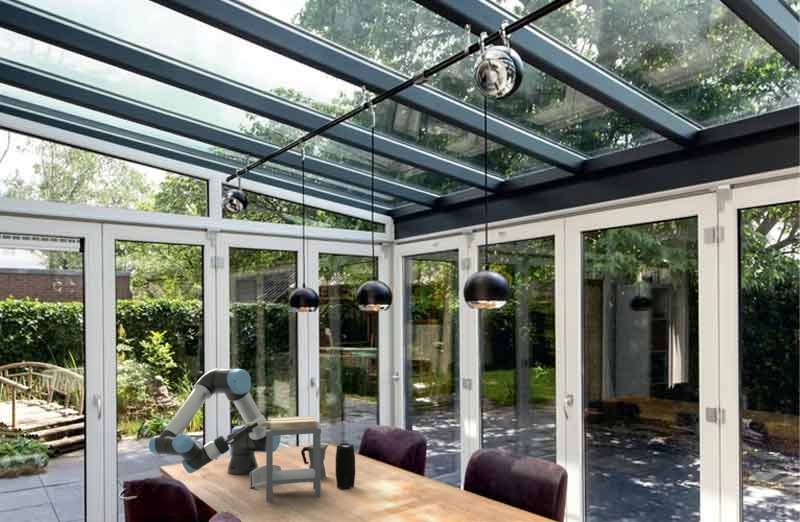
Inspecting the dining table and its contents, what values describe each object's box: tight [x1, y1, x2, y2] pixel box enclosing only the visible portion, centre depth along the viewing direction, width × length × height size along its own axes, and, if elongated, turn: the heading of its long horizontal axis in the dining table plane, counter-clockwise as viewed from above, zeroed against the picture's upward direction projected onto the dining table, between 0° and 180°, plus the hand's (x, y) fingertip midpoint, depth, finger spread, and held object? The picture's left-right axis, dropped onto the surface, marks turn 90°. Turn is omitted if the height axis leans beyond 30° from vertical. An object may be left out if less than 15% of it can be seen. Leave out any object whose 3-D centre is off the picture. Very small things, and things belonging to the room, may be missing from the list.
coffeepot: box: [300, 443, 329, 480], centre depth 305 cm, size 15×9×18 cm, turn 129°
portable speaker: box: [335, 442, 356, 491], centre depth 287 cm, size 9×9×20 cm
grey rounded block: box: [249, 464, 282, 490], centre depth 294 cm, size 17×5×10 cm, turn 132°
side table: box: [265, 421, 322, 503], centre depth 279 cm, size 18×24×30 cm
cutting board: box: [244, 415, 317, 431], centre depth 279 cm, size 16×31×3 cm, turn 101°
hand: (264, 418), depth 278 cm, fingers closed on cutting board, 4 cm apart
